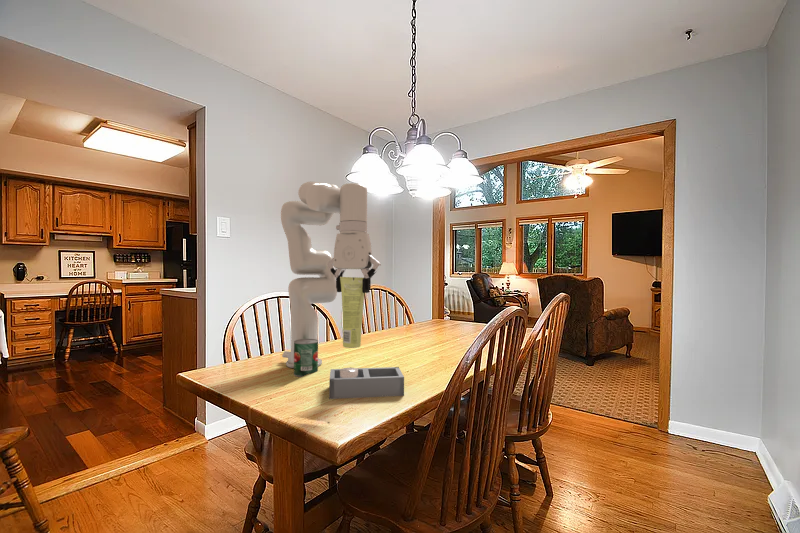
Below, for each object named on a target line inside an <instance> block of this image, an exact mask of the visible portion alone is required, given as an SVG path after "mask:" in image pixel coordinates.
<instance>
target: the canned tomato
mask: <svg viewBox="0 0 800 533" xmlns="http://www.w3.org/2000/svg"><path fill="white" fill-rule="evenodd" d="M318 358H319V340H316V339H299V340H295V341H294V368H293V376H294V377H297V378H303V377H306V376H307V375H309V374H314V373H317V372H318V370H319V366H318Z"/></svg>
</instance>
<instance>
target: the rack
mask: <svg viewBox="0 0 800 533" xmlns="http://www.w3.org/2000/svg"><path fill="white" fill-rule="evenodd" d="M355 368H356V369H358V378H340V370H341V369H342V368H330V373H329V383H328V385H329V390H328V392H329V397H328V398H329V400H334V399H335V400H336V399H339V400H340V399H356V398H357V399H360V398H378V397H379V398H382V397H383V398H384V397H401V396H402V397H404V396H405V376H404V374H403V373H402V370H401V369H400V368H399V366H390V367H389V366H387V367H361V368H360V367H359V368H357V367H355Z"/></svg>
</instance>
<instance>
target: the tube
mask: <svg viewBox="0 0 800 533" xmlns="http://www.w3.org/2000/svg"><path fill="white" fill-rule="evenodd" d="M363 278H364V277H360V276H359V277H358V276H357V277H356V276H352V277H351V276H343V277H340V282H341V292H340V293H341V306H342V311H341V312H342V347H343V348H346V349H355V348H356V349H357V348H360V347H361V346H362V345H361V344H362V342H361V341H362V326H363V310H364V301H365V293H363V292H362V280H363Z"/></svg>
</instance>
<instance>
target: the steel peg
mask: <svg viewBox="0 0 800 533" xmlns="http://www.w3.org/2000/svg"><path fill="white" fill-rule="evenodd" d="M356 368H357V367H343V368H340V369H341V370H340V378H358V369H356Z"/></svg>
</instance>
